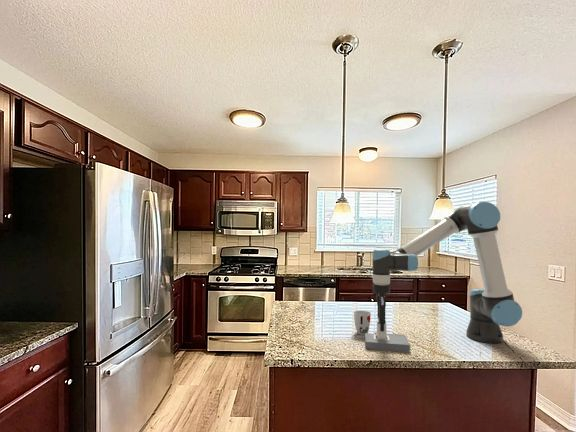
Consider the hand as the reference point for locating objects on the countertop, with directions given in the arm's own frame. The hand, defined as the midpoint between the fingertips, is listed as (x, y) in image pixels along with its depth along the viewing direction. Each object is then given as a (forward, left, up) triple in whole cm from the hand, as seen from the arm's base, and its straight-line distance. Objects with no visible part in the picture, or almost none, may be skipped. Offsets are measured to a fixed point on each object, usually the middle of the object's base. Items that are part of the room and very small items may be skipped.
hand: (381, 335), depth 147 cm
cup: (+8, -15, -4) cm, 17 cm away
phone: (-5, -11, -4) cm, 13 cm away
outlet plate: (-2, +1, -4) cm, 4 cm away
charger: (0, 0, -4) cm, 4 cm away
